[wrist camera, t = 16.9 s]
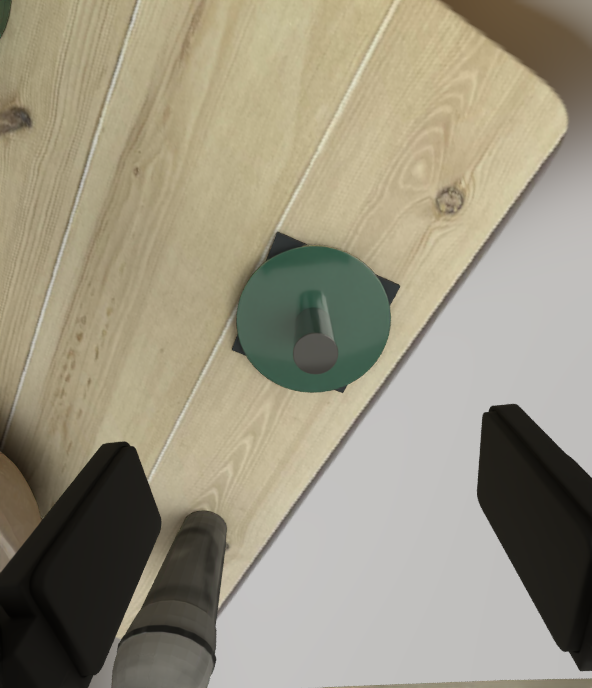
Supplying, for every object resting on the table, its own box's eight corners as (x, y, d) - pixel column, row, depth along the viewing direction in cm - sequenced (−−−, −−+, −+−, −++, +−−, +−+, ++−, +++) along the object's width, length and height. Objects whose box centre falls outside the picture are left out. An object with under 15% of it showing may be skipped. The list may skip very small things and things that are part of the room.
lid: (415, 281, 28) (447, 306, 21) (347, 404, 32) (358, 455, 25) (270, 217, 26) (260, 224, 20) (219, 355, 30) (197, 397, 24)
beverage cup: (228, 560, 40) (162, 881, 21) (162, 541, 39) (32, 858, 20) (250, 512, 37) (197, 830, 19) (179, 491, 36) (50, 801, 18)
